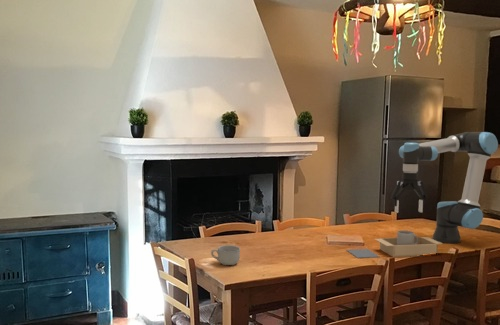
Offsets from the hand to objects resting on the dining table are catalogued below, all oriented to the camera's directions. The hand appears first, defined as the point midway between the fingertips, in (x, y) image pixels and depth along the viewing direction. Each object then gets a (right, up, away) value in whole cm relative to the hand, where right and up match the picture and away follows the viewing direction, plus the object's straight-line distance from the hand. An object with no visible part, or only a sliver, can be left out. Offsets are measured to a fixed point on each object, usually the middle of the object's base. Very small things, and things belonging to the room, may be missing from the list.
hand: (408, 212), depth 250 cm
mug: (0, -22, +2) cm, 22 cm away
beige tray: (0, -21, +2) cm, 22 cm away
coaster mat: (-25, -22, -2) cm, 33 cm away
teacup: (-95, -23, -22) cm, 100 cm away
